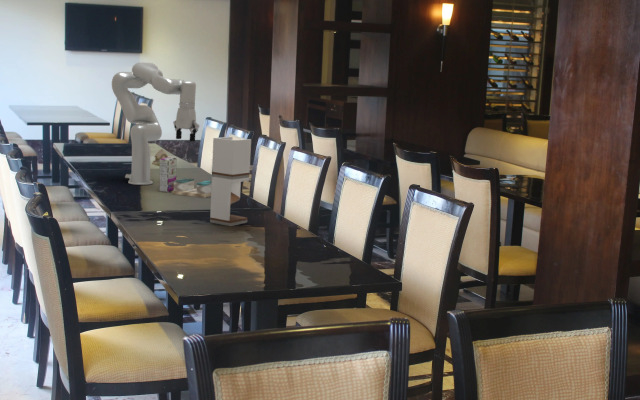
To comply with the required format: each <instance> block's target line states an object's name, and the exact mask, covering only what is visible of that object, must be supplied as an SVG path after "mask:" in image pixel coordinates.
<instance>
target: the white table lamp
mask: <svg viewBox="0 0 640 400" xmlns="http://www.w3.org/2000/svg"><path fill="white" fill-rule="evenodd" d="M251 147H252V139H251V138H248V139H246V138H245V139H233V136H227V137H223V136H221V137H213V138H212V159H211V160H212V164H211V166H212V167H211V181H212V186H211V196H210V211H209V212H210V213H209V214H210V215H209V216H210V218H209V223H212V224H217V225H221V226H222V225H223V226H229V227H232V226H233V227H234V226H236V225H241V224H246V223H248V217H247V216H246V217H245V216H241V215H234V214H231V205H232V204H234V203H237V202H238V201H240V199H241V186H242V185H241V183H242V182H249V181H250V171H251V170H250V169H251V151H252V150H251V149H252V148H251Z"/></svg>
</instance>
